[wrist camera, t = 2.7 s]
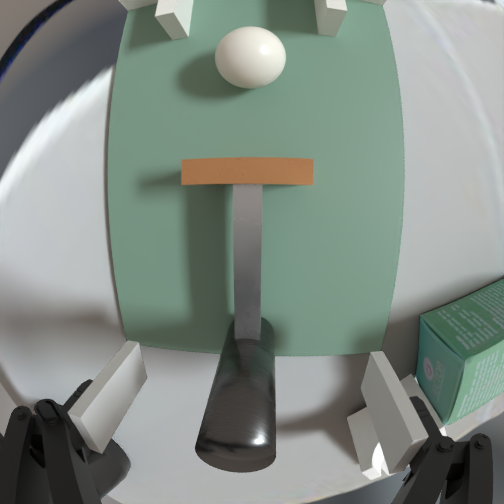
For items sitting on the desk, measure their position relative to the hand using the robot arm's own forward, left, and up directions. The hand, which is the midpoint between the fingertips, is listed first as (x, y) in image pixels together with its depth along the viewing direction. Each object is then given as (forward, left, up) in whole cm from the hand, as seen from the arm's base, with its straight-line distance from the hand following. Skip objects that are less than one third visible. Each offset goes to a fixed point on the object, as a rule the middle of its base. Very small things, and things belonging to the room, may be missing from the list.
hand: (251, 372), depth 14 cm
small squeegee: (0, +5, -4) cm, 6 cm away
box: (+20, -1, -6) cm, 21 cm away
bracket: (+15, -13, -6) cm, 21 cm away
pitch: (0, +12, -6) cm, 13 cm away
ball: (0, +17, -3) cm, 18 cm away
